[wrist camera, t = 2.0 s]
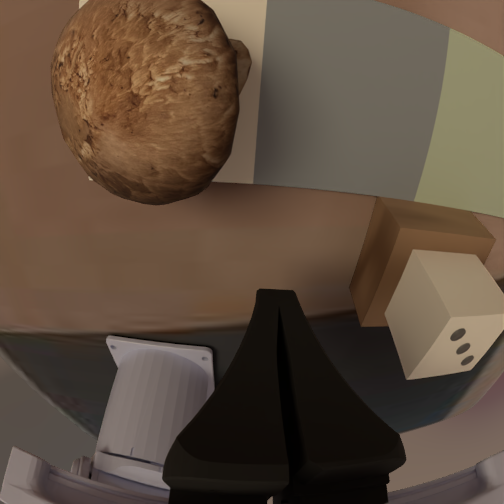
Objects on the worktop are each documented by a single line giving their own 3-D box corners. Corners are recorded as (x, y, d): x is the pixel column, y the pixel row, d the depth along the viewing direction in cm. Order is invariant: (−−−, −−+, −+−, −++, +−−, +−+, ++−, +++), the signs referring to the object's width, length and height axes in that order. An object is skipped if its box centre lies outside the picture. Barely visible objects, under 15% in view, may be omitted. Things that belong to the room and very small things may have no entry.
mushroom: (344, 24, 7) (174, 39, 3) (260, 188, 13) (151, 278, 10) (171, -40, 8) (23, -15, 4) (147, 100, 14) (43, 154, 11)
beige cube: (444, 312, 15) (470, 370, 11) (384, 313, 15) (406, 380, 11) (475, 254, 12) (515, 313, 9) (412, 249, 12) (451, 318, 9)
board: (508, 217, 14) (510, 219, 14) (91, 178, 14) (89, 180, 13) (546, 85, 9) (548, 86, 9) (82, 0, 8) (79, 0, 8)
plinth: (431, 289, 18) (449, 323, 15) (349, 287, 18) (360, 326, 15) (468, 209, 14) (495, 239, 12) (377, 194, 14) (400, 227, 12)
